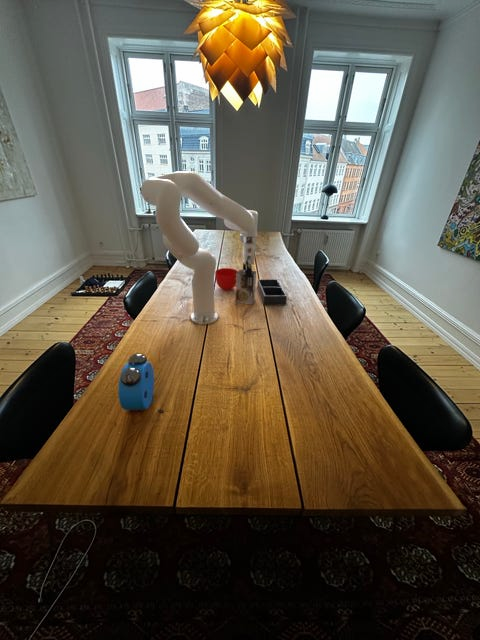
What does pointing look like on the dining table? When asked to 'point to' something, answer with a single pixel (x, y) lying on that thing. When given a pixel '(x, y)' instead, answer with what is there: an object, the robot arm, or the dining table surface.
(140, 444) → the dining table surface
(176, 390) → the dining table surface
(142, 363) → the alarm clock
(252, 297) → the coffee box
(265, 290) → the black divided tray
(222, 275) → the ceramic cup
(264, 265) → the dining table surface
